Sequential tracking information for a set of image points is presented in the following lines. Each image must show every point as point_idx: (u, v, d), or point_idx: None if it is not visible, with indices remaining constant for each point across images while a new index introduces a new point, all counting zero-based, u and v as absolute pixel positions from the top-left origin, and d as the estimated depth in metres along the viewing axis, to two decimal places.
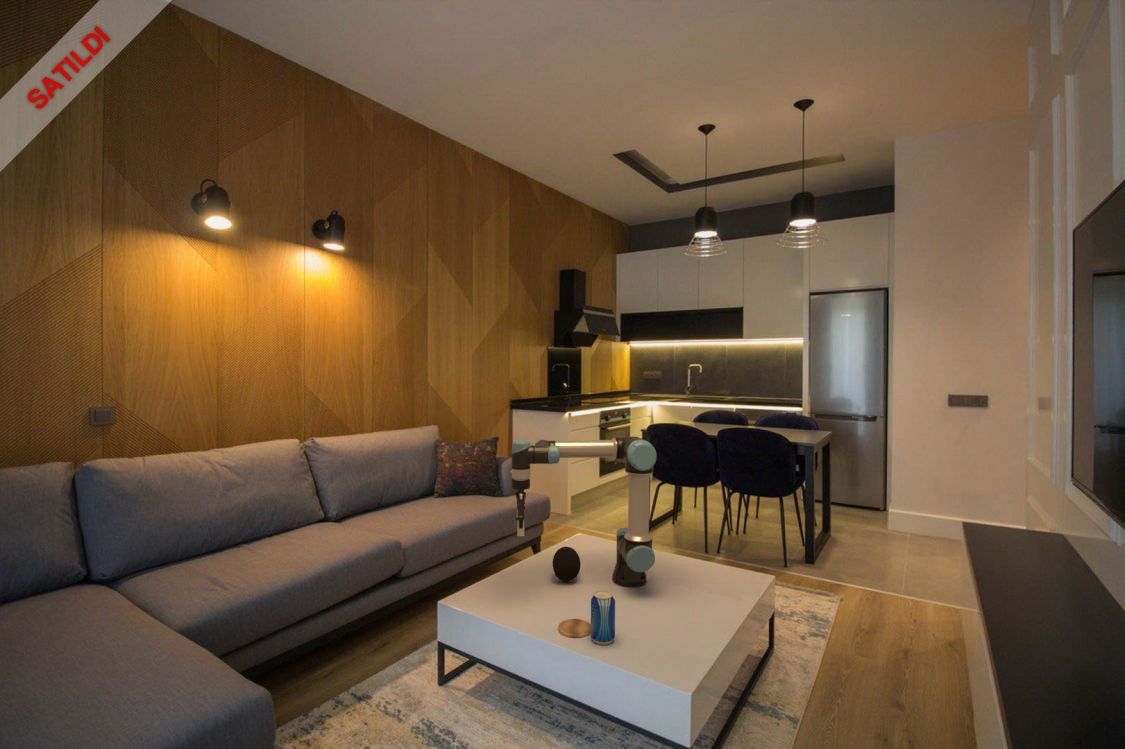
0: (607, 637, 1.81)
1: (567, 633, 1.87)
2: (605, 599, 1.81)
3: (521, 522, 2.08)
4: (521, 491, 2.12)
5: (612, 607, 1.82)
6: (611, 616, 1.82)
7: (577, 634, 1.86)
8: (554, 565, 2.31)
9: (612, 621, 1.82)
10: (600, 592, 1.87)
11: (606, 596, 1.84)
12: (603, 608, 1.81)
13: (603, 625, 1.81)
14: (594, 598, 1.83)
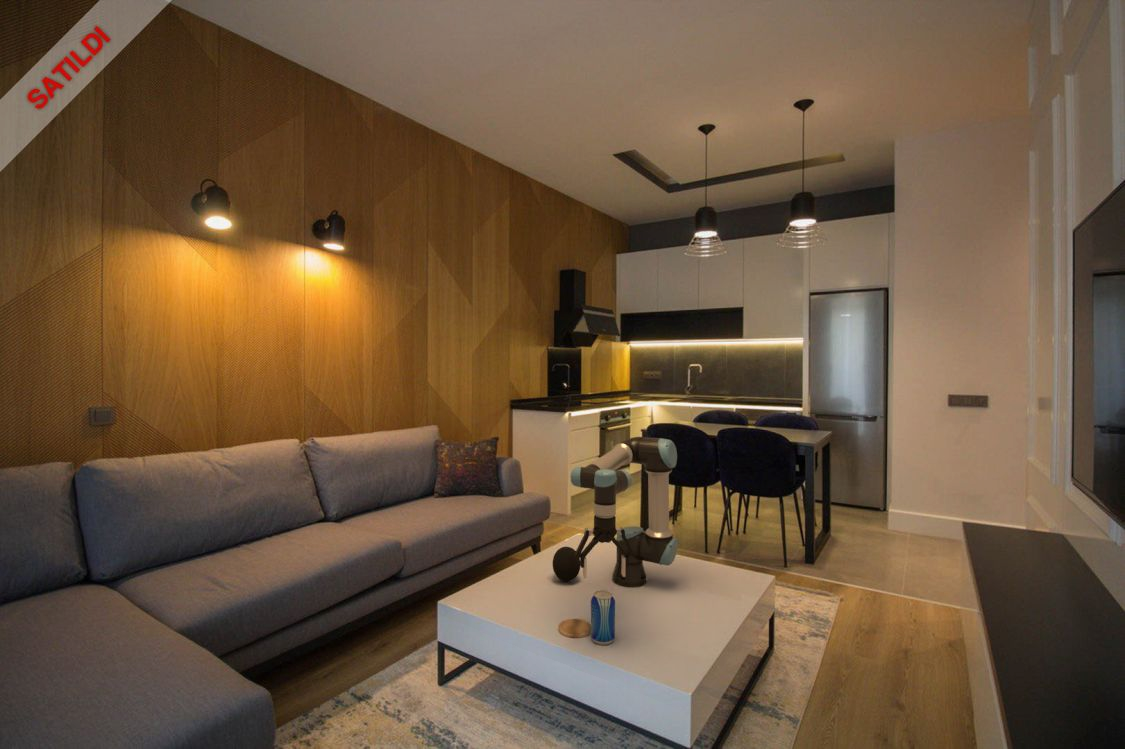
0: (607, 637, 1.81)
1: (567, 633, 1.87)
2: (605, 599, 1.81)
3: (580, 560, 1.83)
4: (594, 528, 1.83)
5: (612, 607, 1.82)
6: (611, 616, 1.82)
7: (577, 634, 1.86)
8: (554, 565, 2.31)
9: (612, 621, 1.82)
10: (600, 592, 1.87)
11: (606, 596, 1.84)
12: (603, 608, 1.81)
13: (603, 625, 1.81)
14: (594, 598, 1.83)
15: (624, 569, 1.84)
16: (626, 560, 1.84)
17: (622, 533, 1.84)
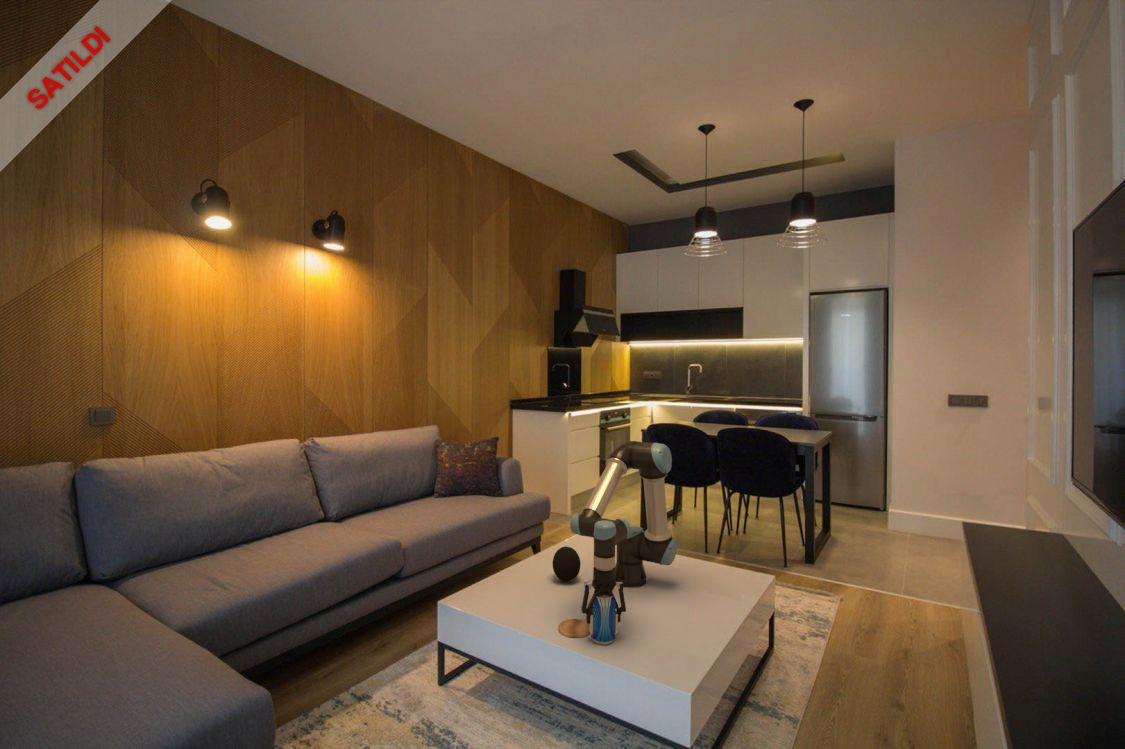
0: (608, 637, 1.81)
1: (567, 633, 1.87)
2: (605, 599, 1.81)
3: (586, 616, 1.84)
4: None
5: (612, 607, 1.82)
6: (611, 616, 1.82)
7: (577, 634, 1.86)
8: (554, 565, 2.31)
9: (612, 621, 1.82)
10: None
11: (607, 596, 1.84)
12: (603, 608, 1.81)
13: (603, 625, 1.81)
14: None
15: (616, 625, 1.84)
16: (618, 616, 1.85)
17: (621, 587, 1.84)
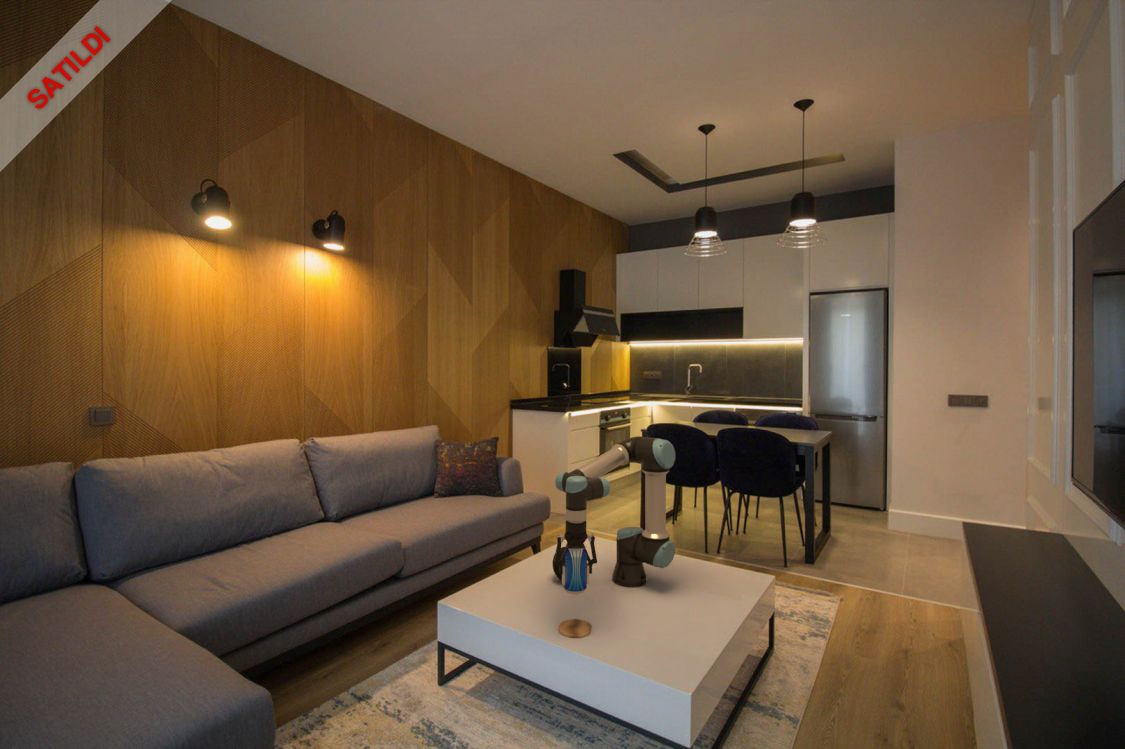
0: (579, 587, 1.88)
1: (567, 633, 1.87)
2: (577, 550, 1.88)
3: (559, 567, 1.90)
4: None
5: (583, 558, 1.88)
6: (583, 567, 1.88)
7: (577, 634, 1.86)
8: (554, 565, 2.31)
9: (584, 571, 1.89)
10: None
11: (578, 548, 1.90)
12: (574, 559, 1.87)
13: (575, 575, 1.87)
14: (567, 550, 1.90)
15: (588, 576, 1.90)
16: (590, 568, 1.91)
17: (592, 540, 1.91)
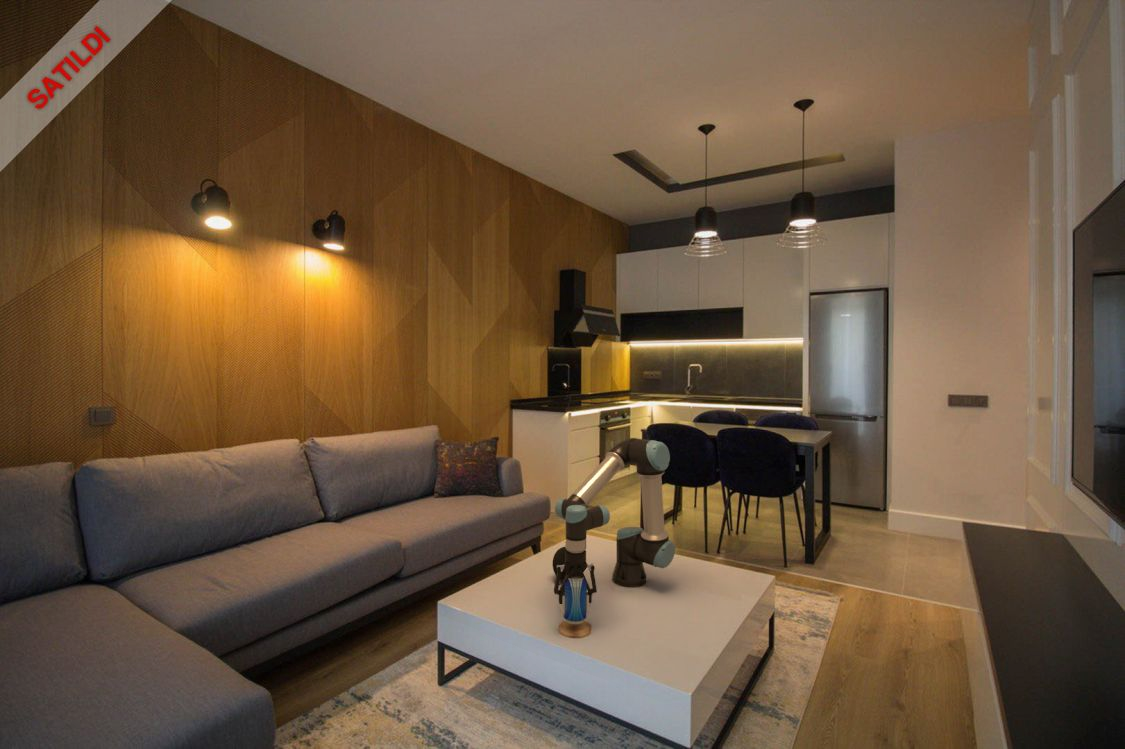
0: (579, 617, 1.88)
1: (567, 633, 1.87)
2: (577, 580, 1.88)
3: (559, 597, 1.91)
4: None
5: (583, 588, 1.89)
6: (582, 597, 1.88)
7: (577, 634, 1.86)
8: (554, 565, 2.31)
9: (583, 601, 1.89)
10: None
11: (578, 577, 1.91)
12: (574, 589, 1.87)
13: (575, 605, 1.87)
14: None
15: (587, 606, 1.91)
16: (589, 597, 1.91)
17: (592, 569, 1.91)
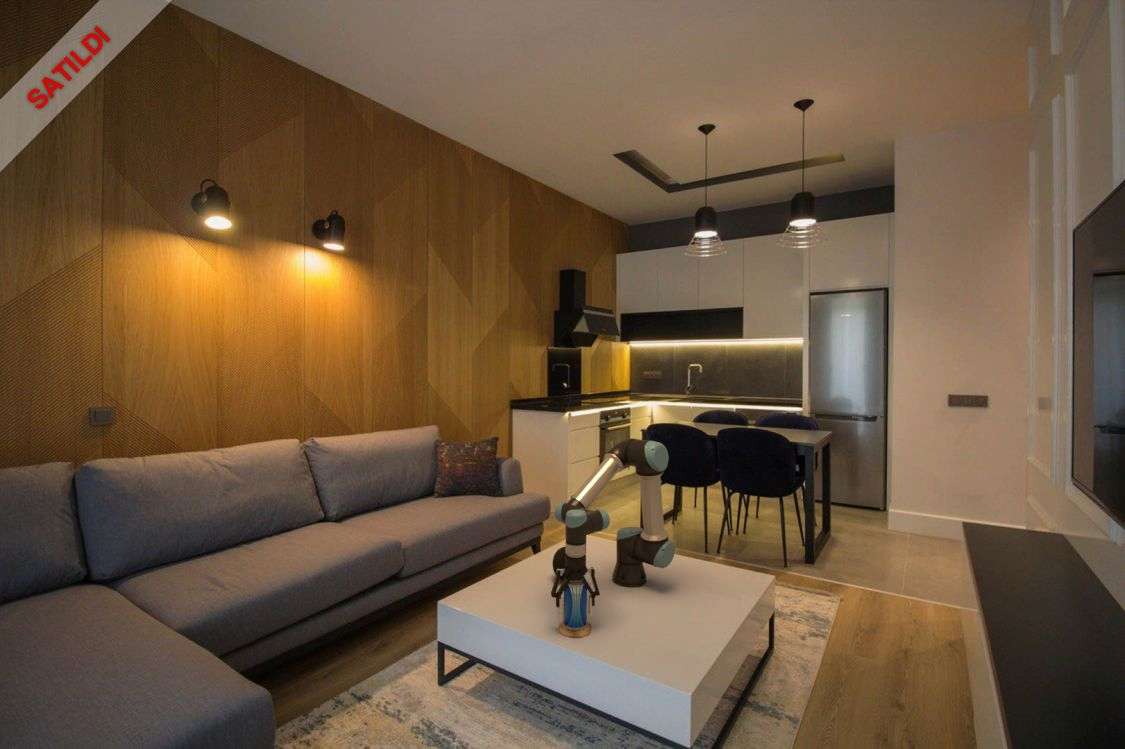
0: (579, 623, 1.88)
1: (567, 633, 1.87)
2: (577, 587, 1.88)
3: (556, 600, 1.91)
4: None
5: (583, 595, 1.89)
6: (582, 603, 1.89)
7: (577, 634, 1.86)
8: (554, 565, 2.31)
9: (583, 608, 1.89)
10: None
11: (578, 584, 1.91)
12: (574, 595, 1.88)
13: (575, 612, 1.88)
14: (567, 586, 1.90)
15: (590, 609, 1.91)
16: (592, 600, 1.92)
17: (592, 573, 1.91)
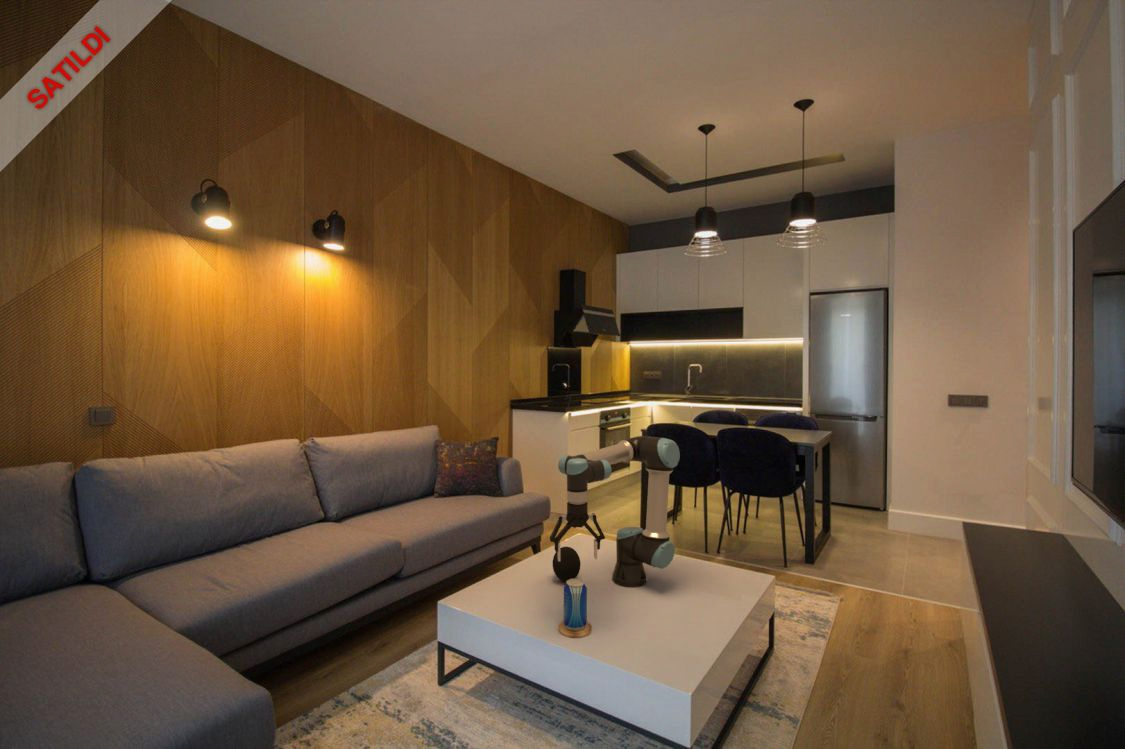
0: (579, 623, 1.88)
1: (567, 633, 1.87)
2: (577, 587, 1.89)
3: None
4: (567, 514, 1.93)
5: (583, 595, 1.89)
6: (582, 603, 1.89)
7: (577, 634, 1.86)
8: (554, 565, 2.31)
9: (583, 608, 1.89)
10: (573, 580, 1.94)
11: (578, 584, 1.91)
12: (574, 595, 1.88)
13: (575, 612, 1.88)
14: (566, 586, 1.90)
15: (596, 552, 1.94)
16: (598, 544, 1.95)
17: (594, 518, 1.94)
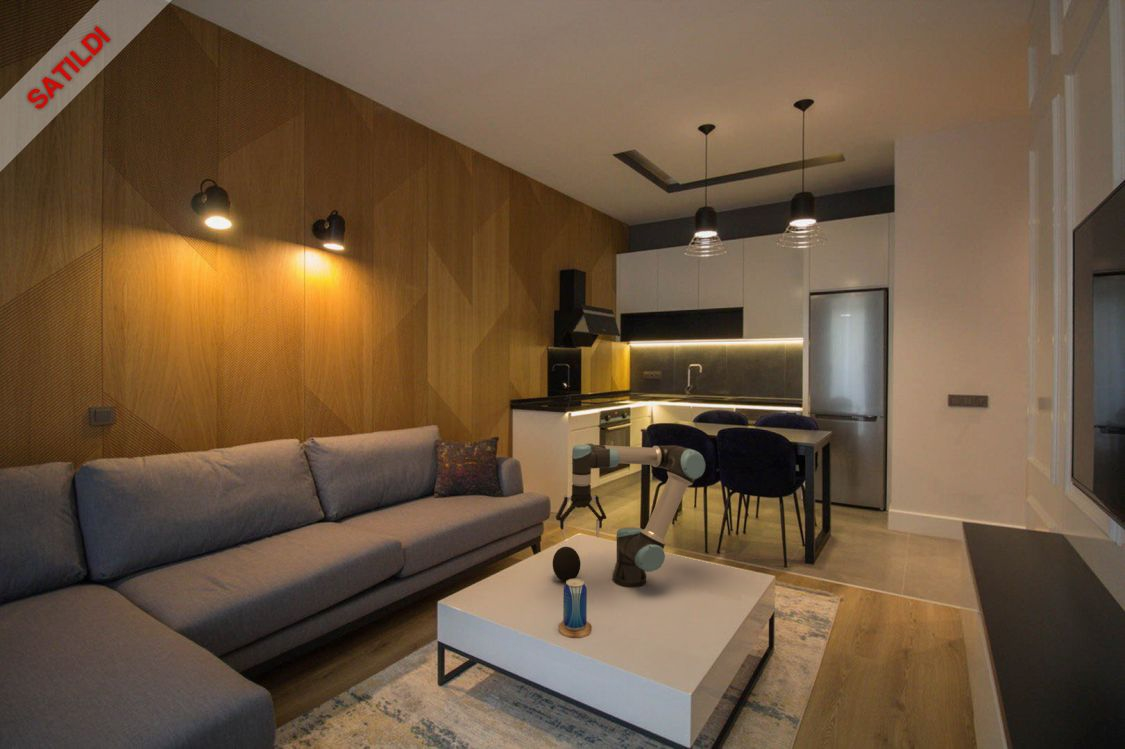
0: (579, 623, 1.88)
1: (567, 633, 1.87)
2: (576, 587, 1.88)
3: (560, 523, 2.11)
4: (572, 495, 2.12)
5: (583, 595, 1.89)
6: (582, 603, 1.88)
7: (577, 634, 1.86)
8: (554, 565, 2.31)
9: (583, 608, 1.89)
10: (573, 580, 1.94)
11: (578, 584, 1.91)
12: (574, 595, 1.87)
13: (574, 612, 1.88)
14: (566, 586, 1.90)
15: (598, 530, 2.12)
16: (600, 523, 2.13)
17: (596, 499, 2.12)
